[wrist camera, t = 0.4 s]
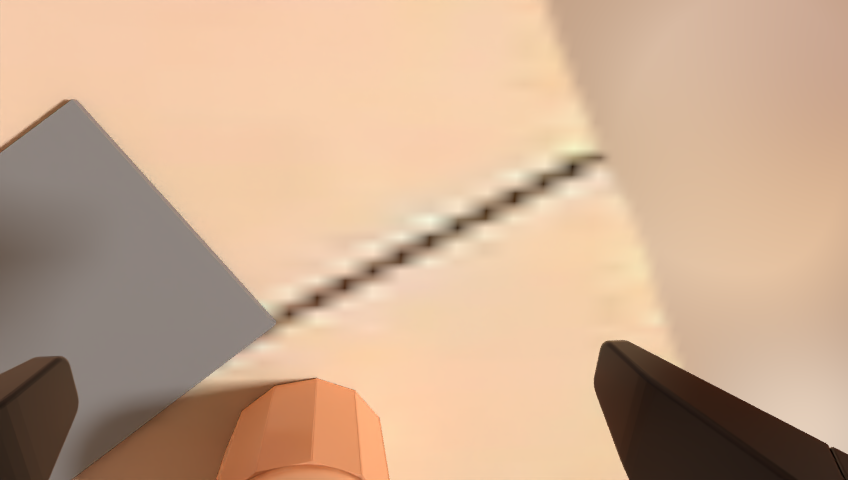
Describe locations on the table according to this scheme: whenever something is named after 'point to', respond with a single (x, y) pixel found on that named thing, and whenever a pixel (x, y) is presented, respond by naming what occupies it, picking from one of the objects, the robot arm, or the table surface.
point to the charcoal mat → (109, 283)
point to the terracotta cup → (306, 436)
